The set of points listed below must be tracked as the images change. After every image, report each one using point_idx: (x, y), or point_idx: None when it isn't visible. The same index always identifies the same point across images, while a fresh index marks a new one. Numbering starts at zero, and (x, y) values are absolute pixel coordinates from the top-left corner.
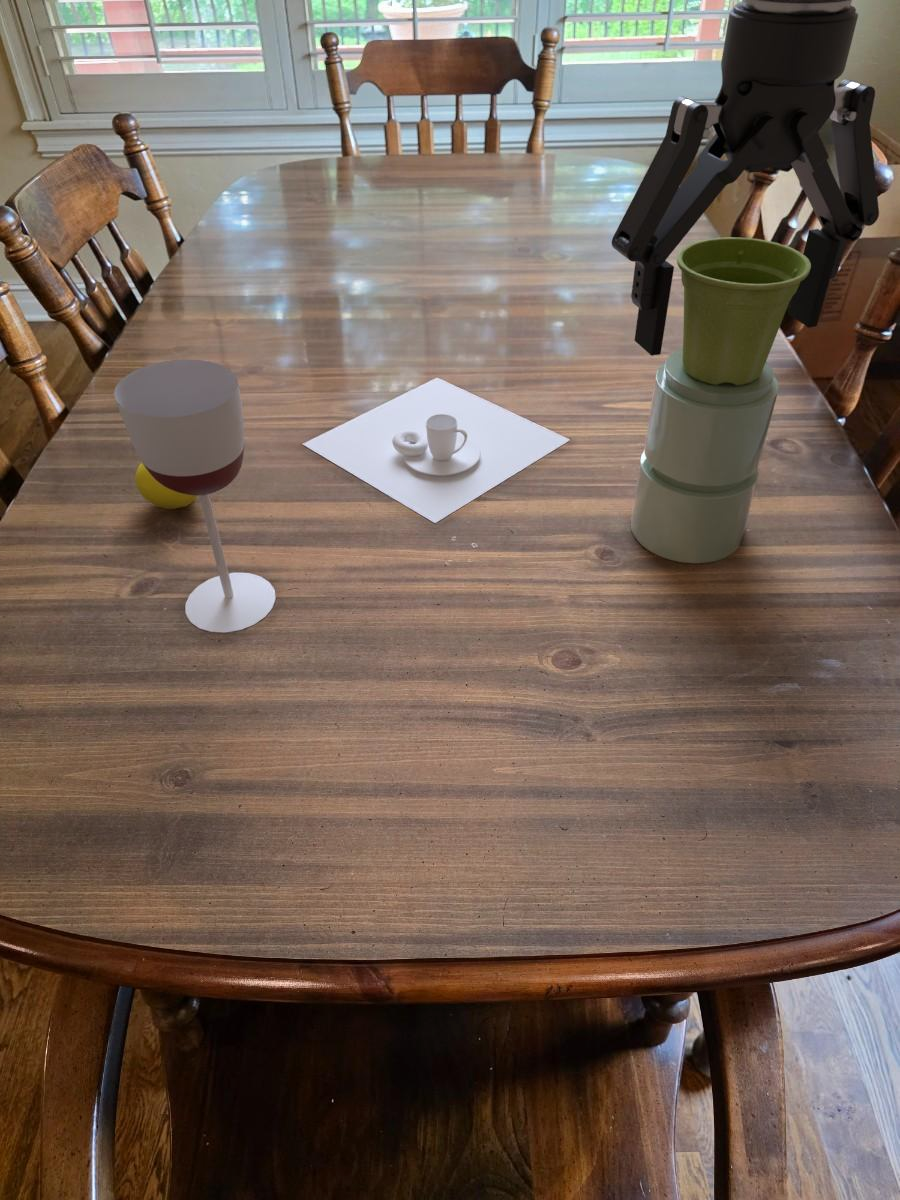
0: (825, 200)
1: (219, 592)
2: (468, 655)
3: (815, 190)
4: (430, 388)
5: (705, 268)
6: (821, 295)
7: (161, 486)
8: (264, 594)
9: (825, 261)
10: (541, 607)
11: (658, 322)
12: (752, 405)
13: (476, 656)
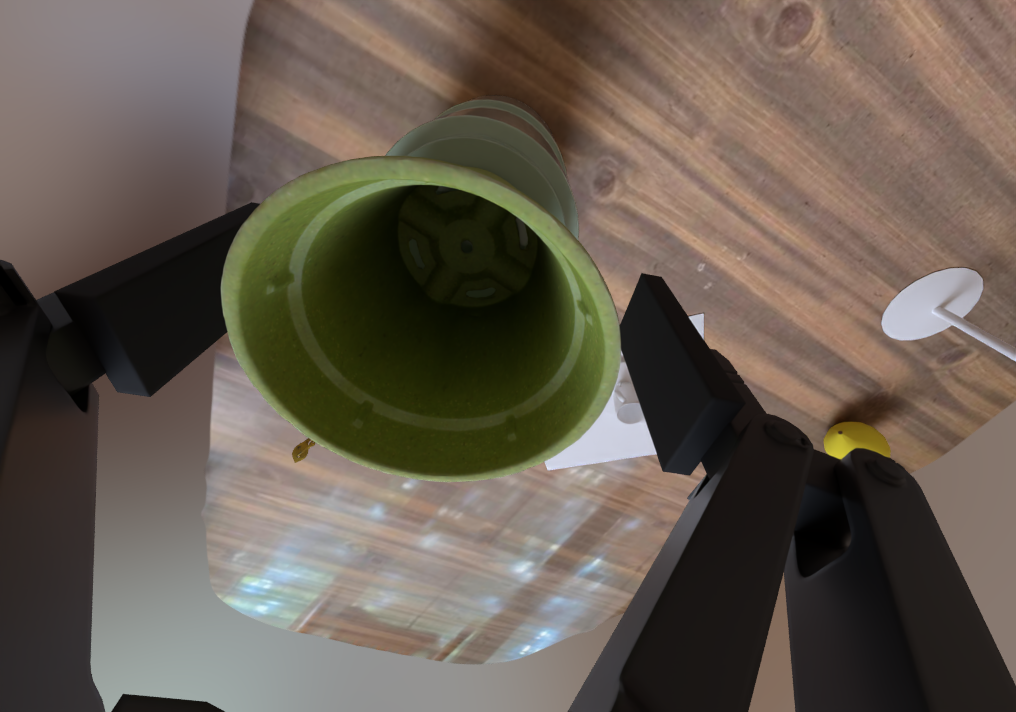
0: (3, 429)
1: (935, 318)
2: (861, 105)
3: (30, 496)
4: (563, 461)
5: (447, 420)
6: (211, 229)
7: (884, 440)
8: (906, 299)
9: (155, 272)
10: (732, 137)
11: (681, 311)
12: (475, 124)
13: (857, 98)
